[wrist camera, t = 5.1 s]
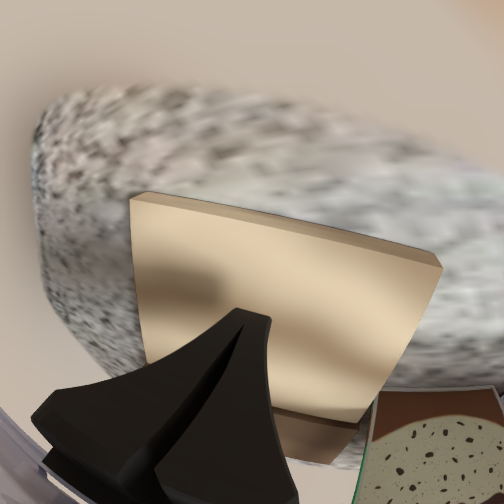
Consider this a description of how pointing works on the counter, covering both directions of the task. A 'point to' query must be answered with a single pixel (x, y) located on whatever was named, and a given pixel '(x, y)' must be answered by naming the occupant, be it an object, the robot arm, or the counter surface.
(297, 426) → the walnut board
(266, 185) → the counter surface
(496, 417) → the food container
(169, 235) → the oak plank
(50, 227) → the counter surface
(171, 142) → the counter surface
